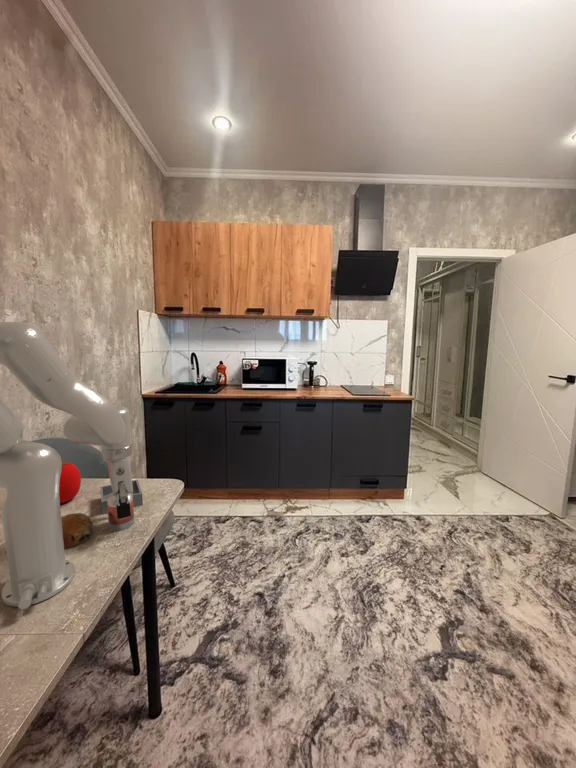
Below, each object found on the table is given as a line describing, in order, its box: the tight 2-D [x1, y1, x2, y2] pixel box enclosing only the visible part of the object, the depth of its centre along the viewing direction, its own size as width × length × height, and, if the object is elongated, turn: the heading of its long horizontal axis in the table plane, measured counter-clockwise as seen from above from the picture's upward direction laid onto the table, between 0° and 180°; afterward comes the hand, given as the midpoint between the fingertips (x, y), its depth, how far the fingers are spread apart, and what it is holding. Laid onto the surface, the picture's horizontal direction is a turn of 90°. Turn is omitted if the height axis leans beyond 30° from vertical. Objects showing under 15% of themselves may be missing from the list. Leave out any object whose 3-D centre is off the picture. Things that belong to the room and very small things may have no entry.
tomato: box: [59, 462, 82, 504], centre depth 105 cm, size 12×12×13 cm
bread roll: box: [61, 512, 94, 549], centre depth 87 cm, size 10×10×8 cm
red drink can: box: [107, 490, 135, 532], centre depth 92 cm, size 6×6×9 cm
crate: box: [99, 479, 144, 515], centre depth 105 cm, size 11×11×4 cm
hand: (122, 508), depth 93 cm, fingers open, 9 cm apart
